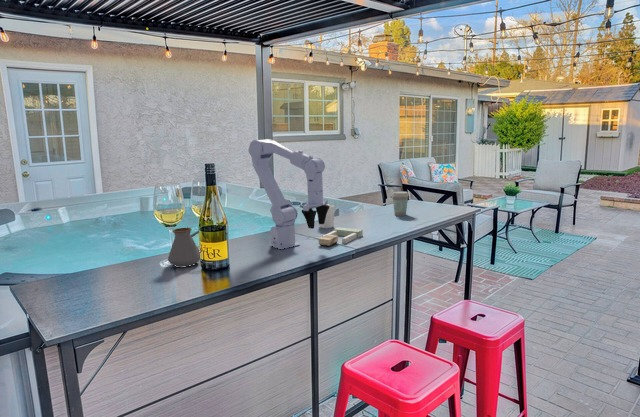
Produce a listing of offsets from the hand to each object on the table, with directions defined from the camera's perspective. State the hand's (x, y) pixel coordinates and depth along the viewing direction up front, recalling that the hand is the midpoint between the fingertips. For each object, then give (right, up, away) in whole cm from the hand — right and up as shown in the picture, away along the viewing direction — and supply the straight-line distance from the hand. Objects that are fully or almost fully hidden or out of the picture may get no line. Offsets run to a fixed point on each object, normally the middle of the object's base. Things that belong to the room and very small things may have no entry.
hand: (316, 226), depth 163 cm
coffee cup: (+43, +3, +60) cm, 74 cm away
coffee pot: (-43, -13, -8) cm, 45 cm away
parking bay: (+11, -6, +18) cm, 22 cm away
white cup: (+4, -2, +40) cm, 40 cm away
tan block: (+5, -8, +9) cm, 13 cm away
